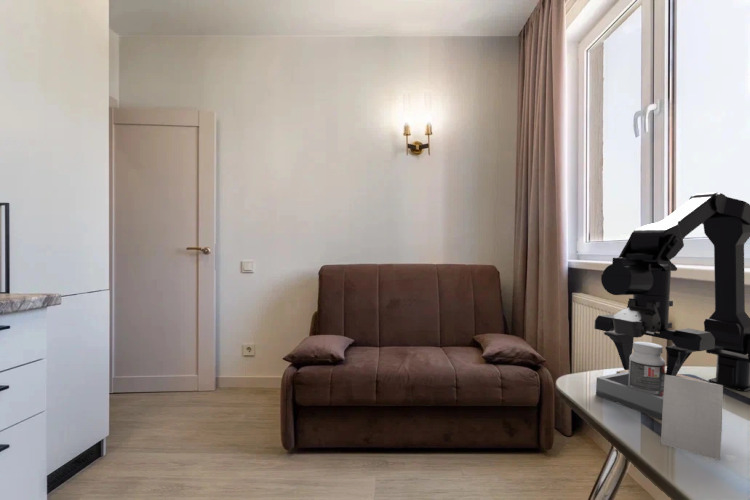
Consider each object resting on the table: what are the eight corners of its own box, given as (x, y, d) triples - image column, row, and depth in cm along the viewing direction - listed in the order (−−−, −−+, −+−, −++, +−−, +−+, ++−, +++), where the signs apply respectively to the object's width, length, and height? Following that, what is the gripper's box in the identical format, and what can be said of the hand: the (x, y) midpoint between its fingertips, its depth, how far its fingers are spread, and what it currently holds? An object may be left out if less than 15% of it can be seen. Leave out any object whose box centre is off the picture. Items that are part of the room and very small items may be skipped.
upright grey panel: (719, 460, 56) (724, 389, 56) (660, 443, 60) (664, 377, 60) (717, 449, 59) (721, 382, 59) (661, 435, 63) (665, 371, 63)
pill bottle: (669, 403, 74) (672, 349, 74) (635, 400, 75) (637, 347, 75) (654, 392, 80) (656, 342, 79) (622, 389, 81) (625, 339, 80)
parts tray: (631, 387, 85) (632, 370, 85) (698, 408, 75) (699, 390, 75) (595, 394, 80) (596, 377, 80) (662, 419, 69) (663, 399, 69)
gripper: (578, 289, 81) (575, 366, 82) (684, 303, 65) (679, 399, 65) (612, 288, 86) (609, 360, 87) (718, 300, 70) (713, 390, 70)
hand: (646, 375), depth 77 cm, fingers open, 7 cm apart
